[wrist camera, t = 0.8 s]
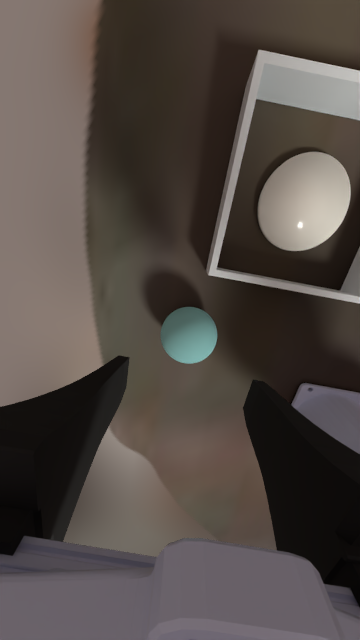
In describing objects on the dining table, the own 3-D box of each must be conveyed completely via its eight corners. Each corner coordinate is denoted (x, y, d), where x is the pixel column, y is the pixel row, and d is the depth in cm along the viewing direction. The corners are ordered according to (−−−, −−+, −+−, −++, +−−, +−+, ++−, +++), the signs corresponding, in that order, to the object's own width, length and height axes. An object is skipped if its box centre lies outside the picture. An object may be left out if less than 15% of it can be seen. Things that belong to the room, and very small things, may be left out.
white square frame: (421, 123, 15) (474, 94, 12) (343, 296, 19) (369, 305, 17) (245, 87, 15) (258, 49, 12) (205, 270, 19) (208, 275, 16)
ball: (219, 305, 20) (228, 323, 15) (207, 351, 22) (212, 379, 17) (168, 296, 20) (161, 311, 15) (160, 342, 22) (152, 369, 17)
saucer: (361, 164, 16) (366, 161, 16) (324, 257, 18) (328, 257, 18) (272, 146, 16) (275, 143, 15) (246, 242, 18) (248, 242, 18)
